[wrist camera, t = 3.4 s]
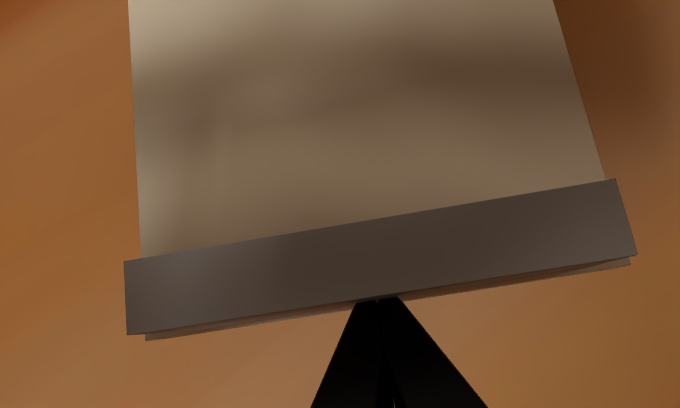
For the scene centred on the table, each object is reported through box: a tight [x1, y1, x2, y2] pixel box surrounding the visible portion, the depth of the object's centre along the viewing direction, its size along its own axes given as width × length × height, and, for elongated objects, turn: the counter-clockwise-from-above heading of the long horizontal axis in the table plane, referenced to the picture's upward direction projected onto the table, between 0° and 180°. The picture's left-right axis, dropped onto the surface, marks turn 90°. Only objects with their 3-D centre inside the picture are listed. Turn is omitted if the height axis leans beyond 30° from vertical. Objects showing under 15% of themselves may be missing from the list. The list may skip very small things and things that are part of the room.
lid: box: [124, 0, 638, 341], centre depth 12 cm, size 12×12×6 cm
